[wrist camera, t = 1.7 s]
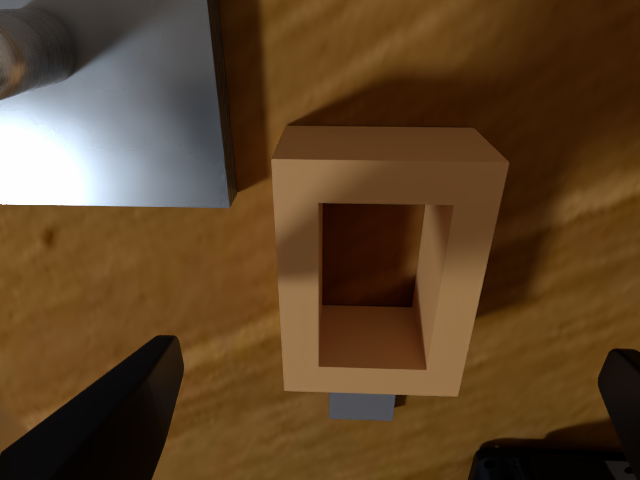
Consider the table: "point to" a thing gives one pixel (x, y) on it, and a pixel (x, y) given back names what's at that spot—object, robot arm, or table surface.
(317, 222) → the link
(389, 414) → the grey rectangular block
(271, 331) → the table surface
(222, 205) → the plate
